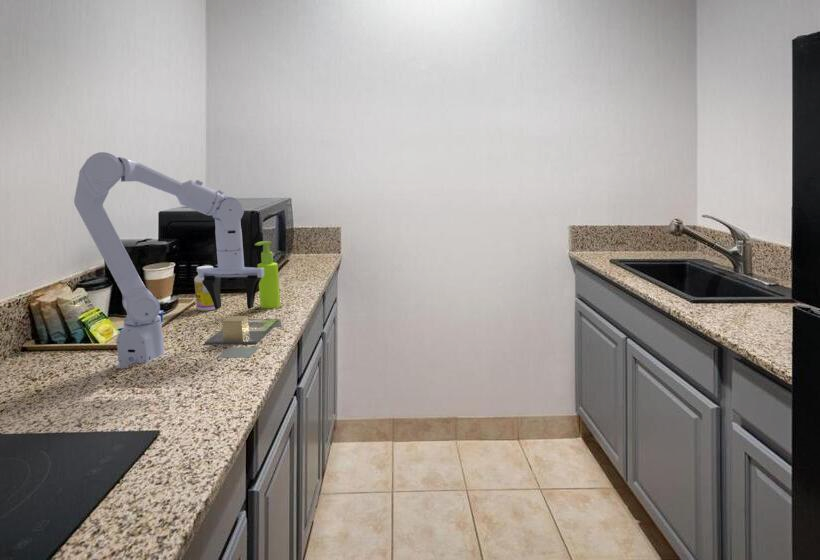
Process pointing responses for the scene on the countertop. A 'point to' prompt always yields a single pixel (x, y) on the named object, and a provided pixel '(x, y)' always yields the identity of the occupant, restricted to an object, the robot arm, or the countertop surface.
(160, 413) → the countertop surface
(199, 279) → the supplement bottle
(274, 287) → the soap dispenser
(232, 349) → the grey square pad
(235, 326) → the block
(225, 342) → the plate
